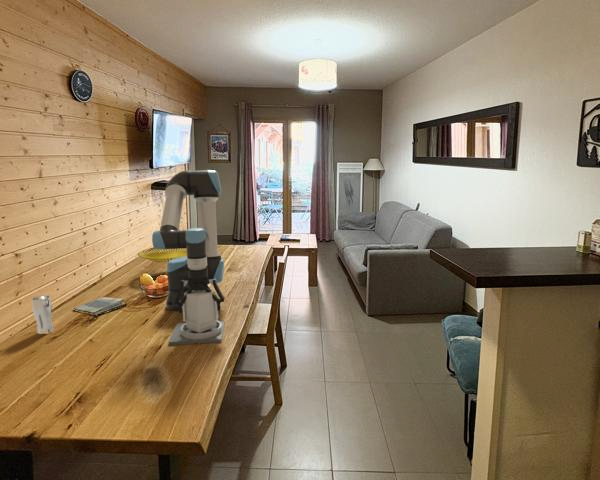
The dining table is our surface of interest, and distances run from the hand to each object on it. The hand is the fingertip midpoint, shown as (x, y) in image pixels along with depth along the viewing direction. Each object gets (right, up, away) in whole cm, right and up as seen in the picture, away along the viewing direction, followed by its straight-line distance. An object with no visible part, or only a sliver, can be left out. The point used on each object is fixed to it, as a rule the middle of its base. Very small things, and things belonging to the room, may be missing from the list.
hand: (201, 319), depth 178 cm
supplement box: (0, -4, +1) cm, 4 cm away
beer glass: (-66, -7, +6) cm, 67 cm away
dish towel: (-56, -1, +34) cm, 66 cm away
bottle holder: (-1, -6, +1) cm, 6 cm away
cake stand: (-36, +11, +90) cm, 98 cm away
